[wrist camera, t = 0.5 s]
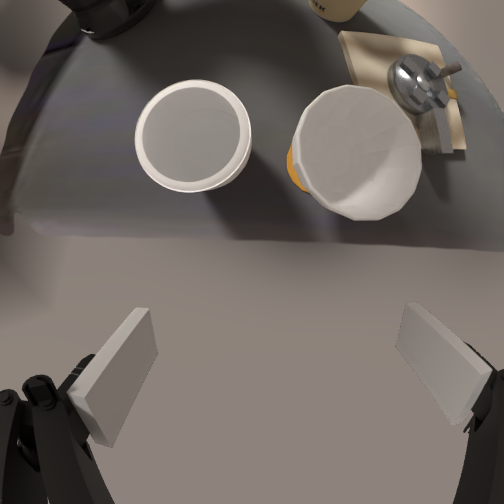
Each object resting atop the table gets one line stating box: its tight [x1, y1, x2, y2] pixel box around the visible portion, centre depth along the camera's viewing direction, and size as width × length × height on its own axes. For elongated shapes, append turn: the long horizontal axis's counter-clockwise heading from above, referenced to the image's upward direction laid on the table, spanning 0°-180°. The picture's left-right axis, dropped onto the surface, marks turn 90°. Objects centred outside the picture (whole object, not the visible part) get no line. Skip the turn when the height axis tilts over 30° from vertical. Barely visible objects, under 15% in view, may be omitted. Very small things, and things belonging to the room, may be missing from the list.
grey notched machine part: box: [387, 54, 453, 155], centre depth 28 cm, size 16×10×5 cm, turn 10°
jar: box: [135, 80, 252, 192], centre depth 28 cm, size 11×10×15 cm
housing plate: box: [338, 31, 466, 150], centre depth 29 cm, size 20×20×7 cm
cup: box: [287, 85, 422, 221], centre depth 27 cm, size 12×12×17 cm
